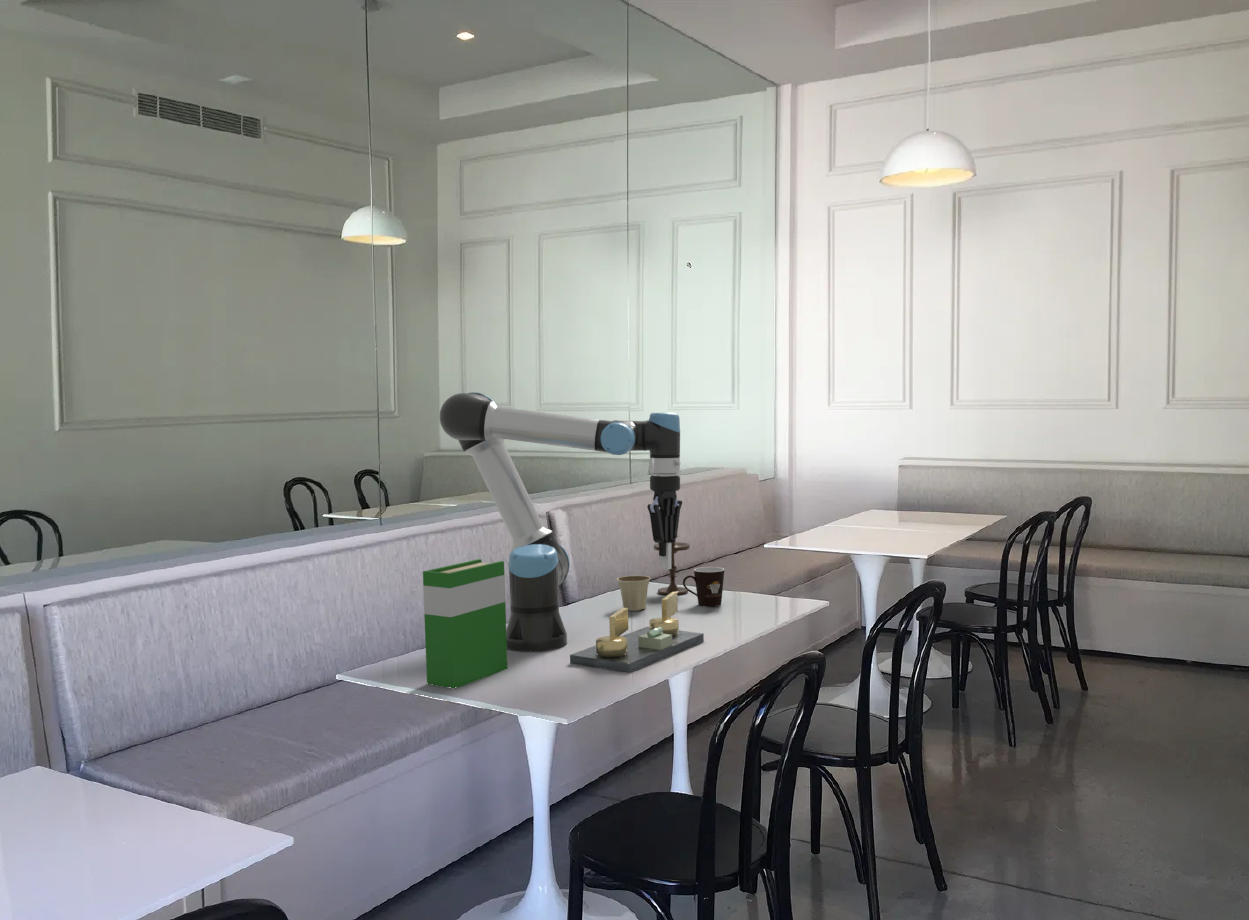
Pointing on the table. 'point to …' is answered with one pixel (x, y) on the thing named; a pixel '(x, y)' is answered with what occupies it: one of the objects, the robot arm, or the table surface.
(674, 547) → the candlestick
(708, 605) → the coffee mug
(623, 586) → the flower pot
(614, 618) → the near knob
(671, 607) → the far knob
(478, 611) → the hardback book
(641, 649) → the level plate
